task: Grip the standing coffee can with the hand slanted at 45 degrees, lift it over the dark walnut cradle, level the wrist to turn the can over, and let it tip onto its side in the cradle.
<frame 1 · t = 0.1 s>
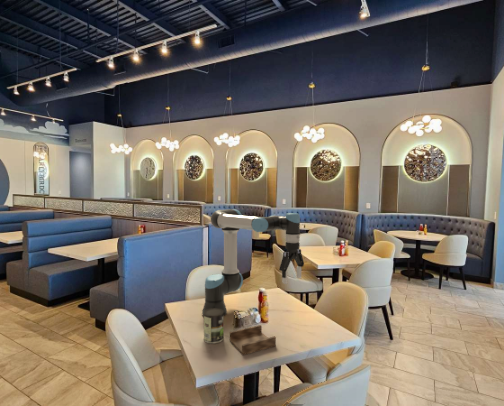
hand: (292, 280, 161), 28 cm above the table, tool pointing down, fingers open, 13 cm apart
cradle: (252, 343, 149), on the table
coffee can: (213, 338, 153), on the table
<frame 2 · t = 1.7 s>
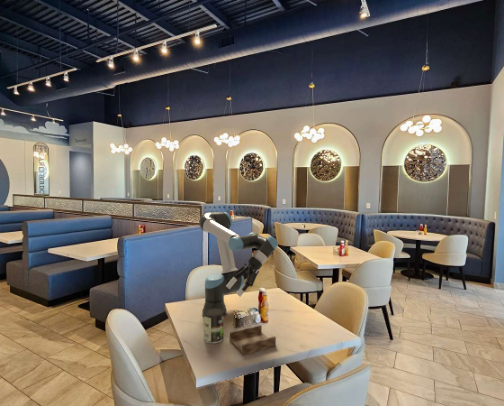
hand: (232, 291, 157), 23 cm above the table, tool tilted 45°, fingers open, 13 cm apart
nothing on the table moved.
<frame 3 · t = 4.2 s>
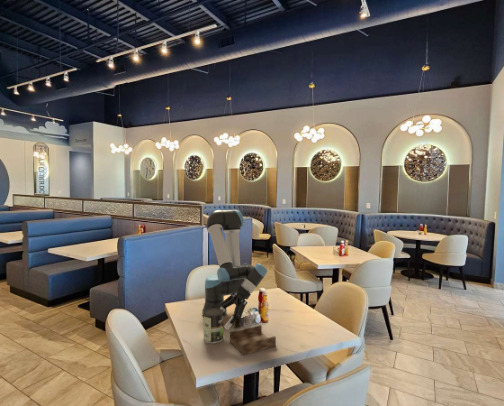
hand: (220, 323, 153), 8 cm above the table, tool tilted 45°, fingers open, 13 cm apart
nothing on the table moved.
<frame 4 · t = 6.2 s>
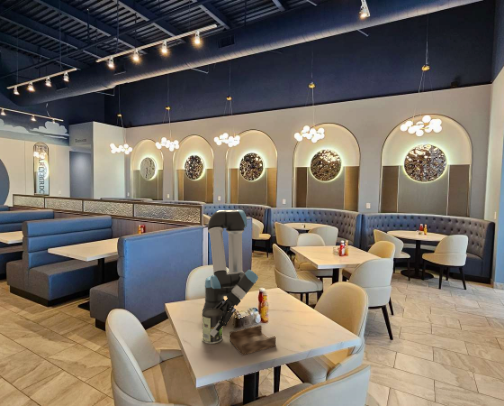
hand: (208, 330, 152), 5 cm above the table, tool tilted 45°, fingers closed on coffee can, 10 cm apart
coffee can: (212, 339, 153), on the table, touching gripper
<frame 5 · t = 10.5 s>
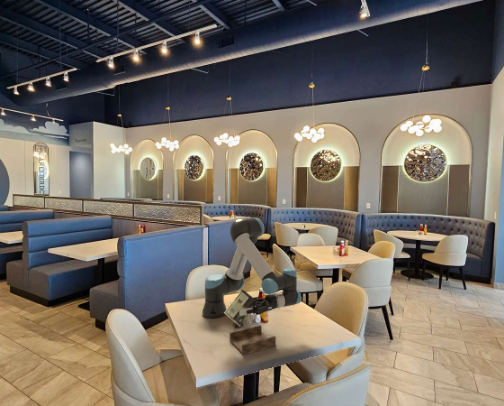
hand: (235, 309, 144), 19 cm above the table, tool horizontal, fingers closed on coffee can, 10 cm apart
coffee can: (231, 320, 143), point 14 cm above the table, touching gripper
when the fingers open (15 cm above the table, at t = 12.1 s): coffee can drops 4 cm, resting on cradle.
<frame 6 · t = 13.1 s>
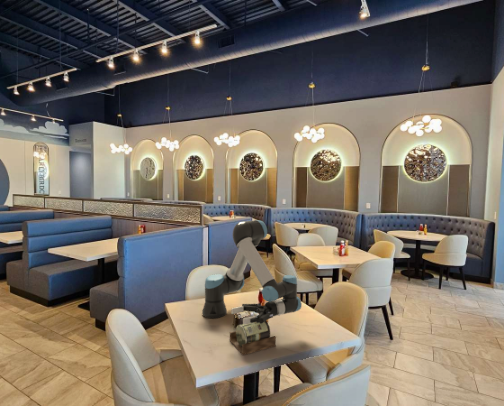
hand: (237, 316, 144), 15 cm above the table, tool horizontal, fingers open, 13 cm apart
coffee can: (239, 336, 144), point 6 cm above the table, touching cradle
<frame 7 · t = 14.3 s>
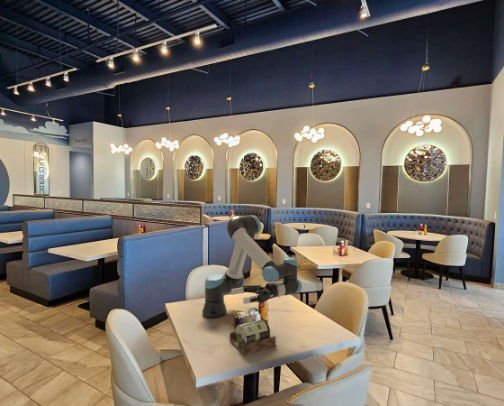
hand: (237, 296, 144), 25 cm above the table, tool horizontal, fingers open, 13 cm apart
nothing on the table moved.
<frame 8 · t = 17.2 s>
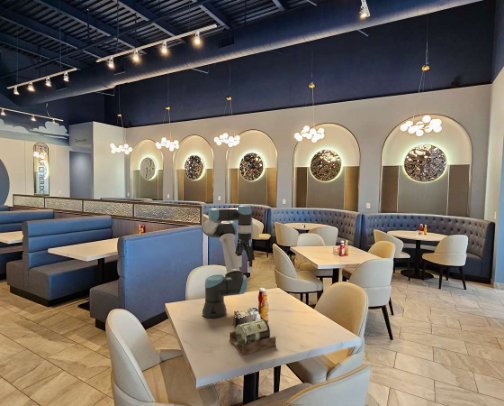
hand: (244, 269, 169), 32 cm above the table, tool pointing down, fingers open, 13 cm apart
nothing on the table moved.
at the end: coffee can tilted 90°; coffee can 7.8 cm from the cradle (horizontally); the gripper is holding nothing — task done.
